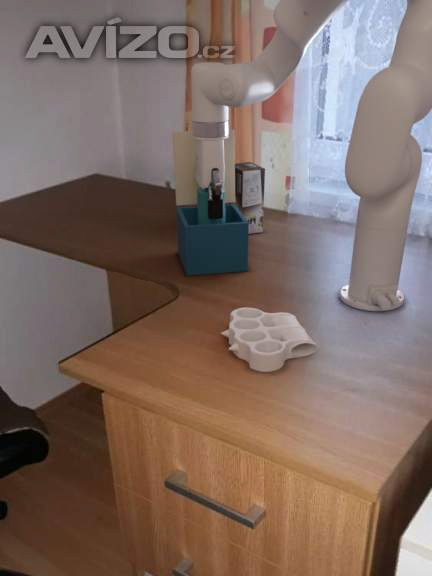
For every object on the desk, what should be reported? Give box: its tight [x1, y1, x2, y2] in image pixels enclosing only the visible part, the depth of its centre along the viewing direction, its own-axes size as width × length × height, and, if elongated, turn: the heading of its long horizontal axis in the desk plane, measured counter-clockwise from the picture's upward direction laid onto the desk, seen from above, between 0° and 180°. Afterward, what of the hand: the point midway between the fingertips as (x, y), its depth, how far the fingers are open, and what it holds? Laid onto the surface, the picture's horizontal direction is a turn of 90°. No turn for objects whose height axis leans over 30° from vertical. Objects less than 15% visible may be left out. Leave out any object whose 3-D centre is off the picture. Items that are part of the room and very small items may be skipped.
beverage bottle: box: [196, 187, 226, 225], centre depth 135 cm, size 6×7×20 cm
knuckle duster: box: [219, 307, 317, 373], centre depth 105 cm, size 3×18×15 cm
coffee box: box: [228, 161, 266, 235], centre depth 157 cm, size 9×6×16 cm
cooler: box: [176, 203, 250, 276], centre depth 138 cm, size 15×14×11 cm
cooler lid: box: [171, 129, 236, 207], centre depth 140 cm, size 16×14×5 cm
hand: (211, 212), depth 135 cm, fingers open, 9 cm apart
